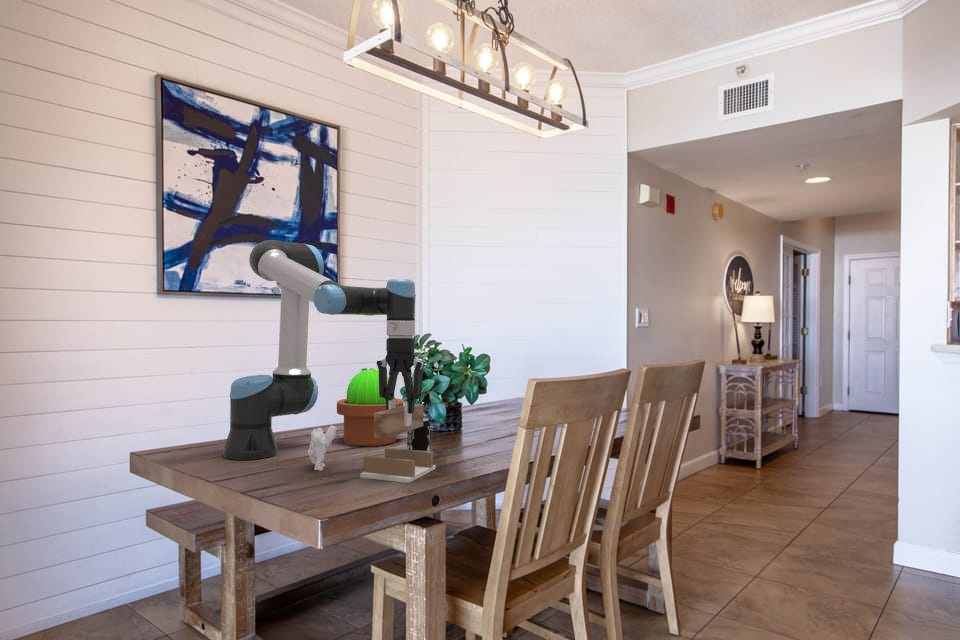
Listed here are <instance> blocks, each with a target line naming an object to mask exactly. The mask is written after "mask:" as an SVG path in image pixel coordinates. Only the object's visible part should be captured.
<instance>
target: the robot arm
mask: <svg viewBox="0 0 960 640" xmlns="http://www.w3.org/2000/svg"><path fill="white" fill-rule="evenodd" d="M324 265H325V264H324V259H323V256H322V254H321V252H320V251H319V249H318V248H316V246H314V245H310V244H307V243H302V242H290V241H283V240H277V239H276V240H275V239H267V240H264V241H263V240H262V241H261V242H259V243H257V244H256V245H254V247H253V248H252V249H251V251H250V254H249V266H250V268H251V271H252V272H253V273H254V274H256V275H257V276H258V277H260V278H261V279H263V280H265V281H267V282H276V286H277V287H278V288H279V289H280V291H281V292H280V293H281V294H280V295H281V296H280V312H279V314H280V315H279V317H280V318H279V319H280V320H279V336H278V338H279V340H278V357H277V359H278V360H277V361H278V363H277V364H278V366H277V367H276V368H275V369H274V370H273V371H272V375H270V374H257V375H248V376H243V377H239V378H236V379H235V380H233V382H231V385H230V392H229V393H230V394H229V398H230V400H229V401H230V402H229V403H230V405H229V406H230V411H229V432H228V435H227V438H226V441H225V446H224V447H223V455H222V456H223V458H224V459H227V460H236V461H250V460H252V461H253V460H260V459H267V458H270V457H274V456H276V455H277V454H278V444H277V442H276V438H275V435H274V432H273V429H272V424H273V423H272V422H273V421H272V420H273V417H275V418H276V417H279V416H280V417H282V416H291V415H294V416H295V415H299V414H302V413H306V412H310V410H311V409H312V408H313V407H314V406H315V405H316V402H317V401H318V400H317V399H318V396H319V387H318V385H317V381H316V380H315V378H314V377H312V372H311V371H310V369H309V368H308V367H307V364H308V363H307V358H308V338H309V337H308V334H309V315H310V313H309V312H310V301H311V302H312V303H313V304H314V307H315V308H316V310H317V312H319V313H321V314H327V315H330V316H335V315H350V316H351V315H355V316H357V315H358V316H359V315H361V316H371V317H372V316H383V315H384V316H386V336H387V338H386V339H385V340H386V342H385V343H386V344H385V345H386V346H385V347H386V348H385V350H386V355H385V358H384V359H381V360H377V361H376V366H377V370H378V369H379V370H378V371H379V396H380V397H382V398H384V399H385V400H386V410H389V409H393V408H396V400H392V399H394V398H396V397H395V393H396V385H397V382H398V375H399V373H401V377H403V383H404V389H405V394H406V395H405V396H406V400H405V401H404V426H410V425H411V421H412V413H414V404H415V401H416V400H420V399H422V393H423V392H422V391H423V388H422V387H423V370H424V368H425V361H420V360H418V359H417V358H416V356H415V351H416V350H415V349H416V348H415V347H416V344H415V343H416V340H415V338H414V336H415V335H416V296H417V295H416V286H415V285H416V283H415V282H414V280H412V279H407V278H391V279H388V280H387V282H386V286H385V287H365V286H364V287H363V286H354V285H353V286H351V285H350V286H349V285H342V284H340V283H338V282H336V281H334V280H332V279H331V278H328V277H326V276H324V275H323V273H324V270H325V267H324ZM387 367H389V370H388V369H387ZM412 367H413V368H414V370H413V371H414V372H413V373H412ZM412 374H413V376H412ZM387 377H388V378H389V380H388V385H387ZM412 377H413V378H412Z"/></svg>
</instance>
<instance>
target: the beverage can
mask: <svg viewBox="0 0 960 640" xmlns="http://www.w3.org/2000/svg"><path fill="white" fill-rule="evenodd" d="M429 420H430V419H429V418H427V417H423V426H422V427H419V428H416V429H413V430H410V431H408V432H406V436H407V437H406V439H407V441H406V442H407V444H406V449H409V450H419V451H430V452H431V423H430V421H429Z"/></svg>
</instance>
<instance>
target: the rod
mask: <svg viewBox="0 0 960 640" xmlns="http://www.w3.org/2000/svg"><path fill="white" fill-rule="evenodd" d="M423 418H424V404H421V403H420V404H419V403H414V413H412V421H411V425H410V426H404V406H401V407H397V408H393V409H389V410H385V411H381V412H378V413H374V437H377V438H390V437H393V436H396V437H397V436H399V435H402V434H404V433H407V432H408V431H410V430H413V429H416V428H419V427H422V426H423Z"/></svg>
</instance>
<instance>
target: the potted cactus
mask: <svg viewBox="0 0 960 640" xmlns="http://www.w3.org/2000/svg"><path fill="white" fill-rule="evenodd" d="M388 380H389V376H387V385H388ZM349 381H350V382H349V383H348V385H347V388H346V391H345V392H344V393H345V394H346V395H344V396H345V397H346V398H341V399H339V400H337V401H336V413H337V414H338V415H339V416H343V442H344V444H347V445H348V446H349V445H350V446H355V447H358V446H359V447H377V446H378V447H379V446H386V445H390V444H392V443H393V444H394V443H395V442H396V440H397V435H396V436H393V437H390V438H377V437H374V413H378V412H381V411H385V410H386V400H385V399H384V398H382V397H380V396H379V369H378V368H377V369H376V368H373V367H372V368H366V367H364V368H361V369H360V371H359V372H357V373H356V374H355V375H354V376H352V378H351V379H350V380H349ZM392 400H396V408H397V407H401V406H404V402H405V401H404V400H403V399H401V398H398V397H395V398H394V399H392Z"/></svg>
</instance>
